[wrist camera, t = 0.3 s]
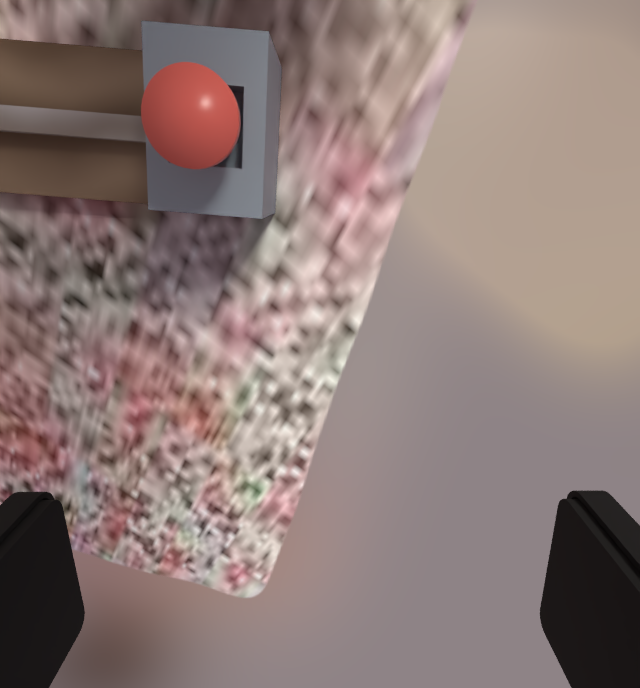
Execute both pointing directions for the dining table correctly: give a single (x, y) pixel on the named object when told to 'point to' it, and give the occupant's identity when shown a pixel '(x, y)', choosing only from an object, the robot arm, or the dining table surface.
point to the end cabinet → (255, 110)
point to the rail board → (72, 121)
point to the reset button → (190, 115)
